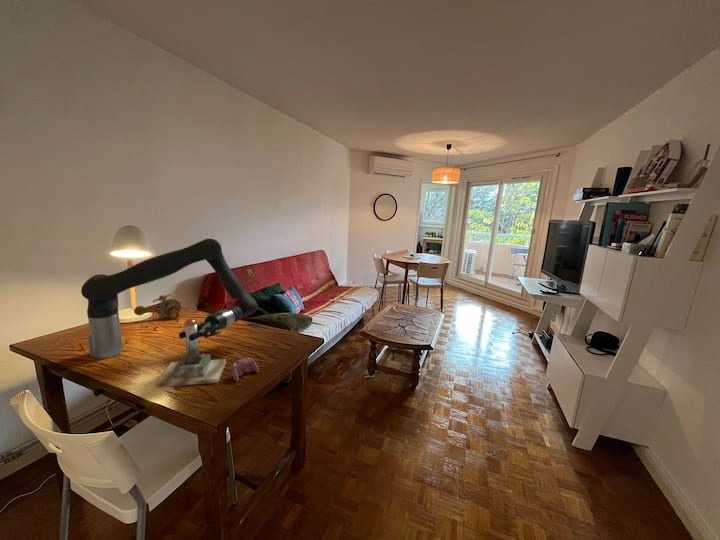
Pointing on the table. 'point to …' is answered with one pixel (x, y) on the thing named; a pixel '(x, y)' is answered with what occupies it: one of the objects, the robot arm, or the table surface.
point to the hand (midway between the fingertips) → (185, 337)
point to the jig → (192, 371)
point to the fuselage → (191, 346)
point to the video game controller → (241, 363)
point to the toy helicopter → (162, 308)
